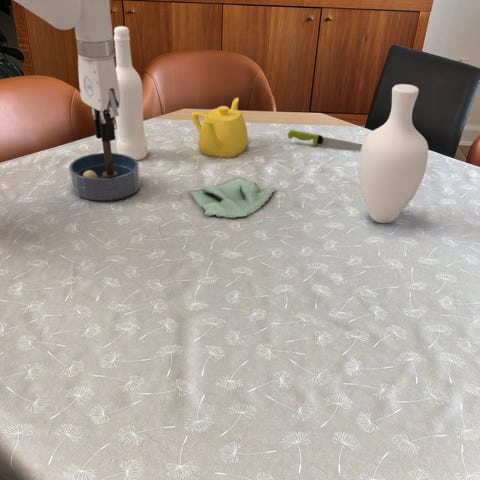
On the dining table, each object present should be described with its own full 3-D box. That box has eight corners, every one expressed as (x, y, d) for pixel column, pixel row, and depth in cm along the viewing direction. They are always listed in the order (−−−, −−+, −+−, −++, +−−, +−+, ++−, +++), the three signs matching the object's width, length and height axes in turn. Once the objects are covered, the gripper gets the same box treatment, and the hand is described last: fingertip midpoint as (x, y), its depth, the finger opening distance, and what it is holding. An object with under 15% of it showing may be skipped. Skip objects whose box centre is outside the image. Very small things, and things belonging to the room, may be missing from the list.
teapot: (207, 131, 189) (207, 90, 181) (258, 138, 185) (259, 98, 177) (176, 158, 174) (174, 115, 166) (230, 167, 170) (230, 123, 162)
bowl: (93, 208, 151) (90, 185, 147) (61, 185, 160) (57, 162, 156) (152, 191, 158) (151, 168, 154) (118, 169, 167) (116, 147, 163)
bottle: (111, 156, 173) (96, 27, 153) (131, 147, 178) (119, 21, 158) (134, 164, 170) (121, 33, 150) (154, 154, 175) (145, 26, 154)
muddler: (107, 183, 153) (99, 116, 143) (100, 178, 155) (91, 112, 145) (121, 180, 155) (114, 113, 144) (113, 175, 157) (106, 109, 147)
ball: (80, 187, 158) (79, 175, 155) (86, 177, 160) (84, 165, 156) (95, 191, 158) (94, 179, 155) (100, 181, 160) (99, 169, 156)
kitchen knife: (365, 155, 181) (368, 144, 179) (365, 156, 180) (367, 145, 178) (287, 140, 183) (289, 129, 181) (286, 141, 182) (288, 130, 180)
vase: (362, 201, 156) (381, 73, 137) (421, 214, 152) (450, 83, 132) (341, 225, 146) (360, 91, 127) (404, 240, 142) (432, 103, 123)
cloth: (201, 221, 147) (200, 211, 145) (186, 182, 162) (186, 172, 161) (288, 215, 150) (289, 204, 148) (266, 177, 166) (266, 167, 164)
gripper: (61, 42, 139) (74, 132, 151) (98, 59, 130) (109, 153, 142) (93, 38, 142) (102, 126, 155) (131, 54, 133) (138, 146, 146)
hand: (105, 138), depth 148 cm, fingers closed on muddler
